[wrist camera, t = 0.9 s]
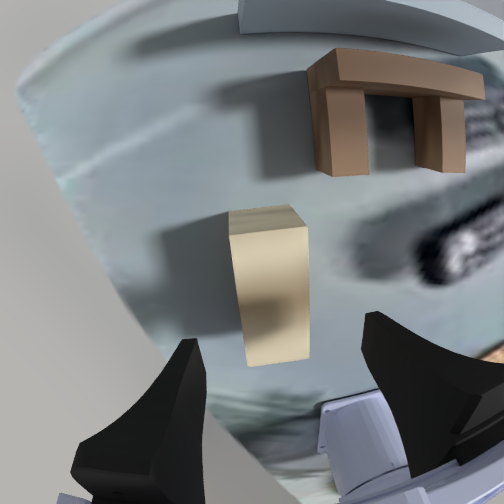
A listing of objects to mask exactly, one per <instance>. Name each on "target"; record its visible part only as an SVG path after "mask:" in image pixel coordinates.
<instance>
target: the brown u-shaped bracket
mask: <svg viewBox="0 0 504 504" xmlns="http://www.w3.org/2000/svg"><path fill="white" fill-rule="evenodd" d="M307 77H308V85H309V94H310V104H311V114H312V125H313V136H314V149H315V163H316V170H318V171H321V172H323V173H325V174H327V175H330V176H332V177H338V176H354V175H369V160H368V139H367V123H366V111H365V100H364V94H368V95H384V96H396V97H406V98H412V102H413V114H414V131H415V165H416V166H420V167H423V168H427V169H431V170H435V171H438V172H442V173H465V164H466V143H465V117H464V103H463V100H485V91H484V82H483V74H480V73H476V72H473V71H470V70H466V69H463V68H459V67H455V66H452V65H448V64H443V63H439V62H435V61H430V60H426V59H421V58H415V57H410V56H404V55H398V54H392V53H384V52H377V51H368V50H358V49H346V48H335V49H333V50H332V51H330V52H329V53H328V54H326V55H325V56H324V57H322V58H321V59H320V60H318V61H317V62H316V63H314V64H313V65H312V66H310V67H309V68H308V69H307Z"/></svg>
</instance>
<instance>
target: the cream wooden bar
mask: <svg viewBox="0 0 504 504" xmlns="http://www.w3.org/2000/svg"><path fill="white" fill-rule="evenodd" d="M229 239H230V247H231V254H232V261H233V269H234V276H235V283H236V290H237V297H238V304H239V311H240V318H241V324H242V331H243V338H244V344H245V351H246V358H247V364H248V367H252V366H260V365H267V364H275V363H282V362H288V361H295V360H301V359H307V358H309V339H310V303H309V252H308V226H307V225H306V224H305V223H304V221H303V220H302V219H301V218H300V217H299V215H298V214H297V213H296V212H295V211H294V209H293V208H292V207H291V206H290V205H280V206H271V207H262V208H253V209H244V210H236V211H229Z"/></svg>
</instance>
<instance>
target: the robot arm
mask: <svg viewBox="0 0 504 504" xmlns="http://www.w3.org/2000/svg"><path fill="white" fill-rule="evenodd" d="M361 350H362V353H363V356H364V359H365V361H366V364H367V366H368V369H369V370H370V372H371V374H372V376H373V378H374V380H375V381H376V383H377V385H378V387H379V390H375V391H372V392H368V393H364V394H360V395H356V396H352V397H348V398H344V399H340V400H335V401H330V402H326V403H324V404H323V405H322V406H321V416H320V427H319V436H318V445H317V452H318V453H324V452H327V455H328V459H329V462H330V466H331V469H332V473H333V476H334V480H335V483H336V487H337V490H338V492H339V494H340V495H341V496H342V497H341V498H339V502H340V503H336V504H485V503H486V502H488V501H489V500H491V499H492V498H493V497H495V496H496V495H498V494H499V493H500V492H502V491H503V490H504V364H503V363H494V362H488V361H483V360H478V359H474V358H470V357H467V356H464V355H461V354H458V353H455V352H452V351H450V350H447V349H445V348H442V347H440V346H438V345H436V344H434V343H432V342H430V341H428V340H426V339H424V338H422V337H420V336H419V335H417V334H415V333H413V332H412V331H410V330H408V329H407V328H405V327H403V326H402V325H400V324H399V323H397V322H395V321H394V320H392V319H391V318H389V317H388V316H386V315H384V314H383V313H381V312H379V311H375V312H370V313H365V322H364V331H363V338H362V346H361ZM206 394H207V388H206V371H205V367H204V363H203V360H202V356H201V352H200V349H199V345H198V341H197V338H192V339H182V341H181V342H180V343H179V345H178V347H177V348H176V350H175V352H174V353H173V355H172V356H171V358H170V360H169V361H168V363H167V364H166V366H165V367H164V369H163V370H162V372H161V373H160V374H159V376H158V377H157V378H156V380H155V381H154V382H153V384H152V385H151V386H150V388H149V389H148V390H147V391H146V392H145V393H144V395H143V396H142V397H141V398H140V399H139V400H138V401H137V402H136V403H135V404H134V405H133V406H132V407H131V408H130V409H129V410H127V411H126V412H125V413H124V414H123V415H122V416H121V417H120V418H118V419H117V420H116V421H115V422H113V423H112V424H110V425H109V426H108V427H106V428H105V429H103V430H102V431H100V432H98V433H97V434H95V435H94V436H92V437H90V438H88V439H86V440H85V441H83V442H81V443H80V444H79V446H78V449H77V451H76V454H75V458H74V461H73V464H72V468H71V471H70V473H71V475H72V477H73V478H74V479H75V480H76V481H77V482H78V483H79V484H80V485H81V486H82V487H83V488H84V489H86V490H87V491H88V492H89V493H91V494H92V495H93V499H92V502H90V501H88V500H85V499H83V498H79V497H75V496H71V495H67V494H63V493H59V496H58V500H57V504H205V496H204V495H205V494H204V484H203V465H202V433H203V423H204V413H205V404H206Z"/></svg>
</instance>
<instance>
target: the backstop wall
mask: <svg viewBox="0 0 504 504" xmlns="http://www.w3.org/2000/svg"><path fill="white" fill-rule="evenodd" d="M238 20H239V29H240V34H248V33H266V32H318V33H336V34H348V35H358V36H367V37H374V38H381V39H388V40H394V41H400V42H405V43H410V44H415V45H420V46H424V47H429V48H433V49H437V50H441V51H444V52H448V53H452V54H455V55H459V56H467V55H472V54H478V53H485V52H492V51H499V50H504V21H502V20H500V19H499V18H497V17H495V16H493V15H491V14H489V13H487V12H485V11H483V10H481V9H478V8H476V7H474V6H472V5H470V4H467V3H465V2H463V1H460V0H239V3H238Z"/></svg>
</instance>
